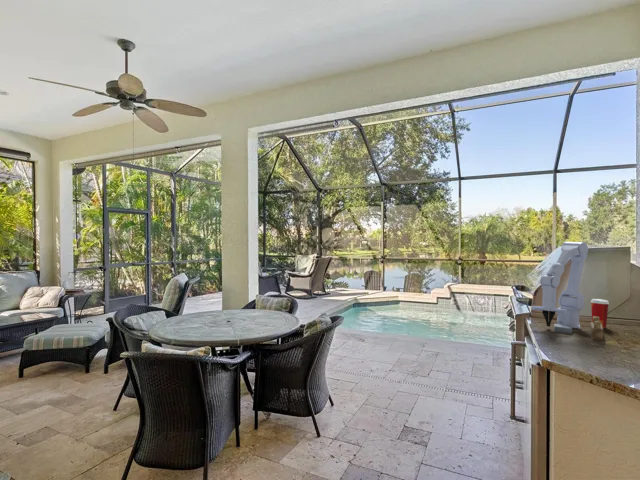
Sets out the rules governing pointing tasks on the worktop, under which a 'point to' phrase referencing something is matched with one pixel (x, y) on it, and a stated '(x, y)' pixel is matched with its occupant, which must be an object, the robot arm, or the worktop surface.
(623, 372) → the worktop surface
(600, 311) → the paper cup
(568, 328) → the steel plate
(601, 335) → the bench dog block
